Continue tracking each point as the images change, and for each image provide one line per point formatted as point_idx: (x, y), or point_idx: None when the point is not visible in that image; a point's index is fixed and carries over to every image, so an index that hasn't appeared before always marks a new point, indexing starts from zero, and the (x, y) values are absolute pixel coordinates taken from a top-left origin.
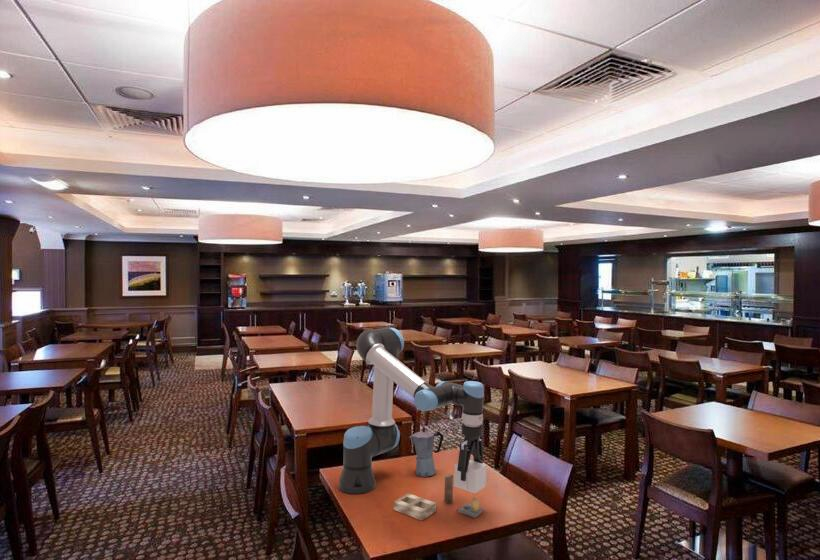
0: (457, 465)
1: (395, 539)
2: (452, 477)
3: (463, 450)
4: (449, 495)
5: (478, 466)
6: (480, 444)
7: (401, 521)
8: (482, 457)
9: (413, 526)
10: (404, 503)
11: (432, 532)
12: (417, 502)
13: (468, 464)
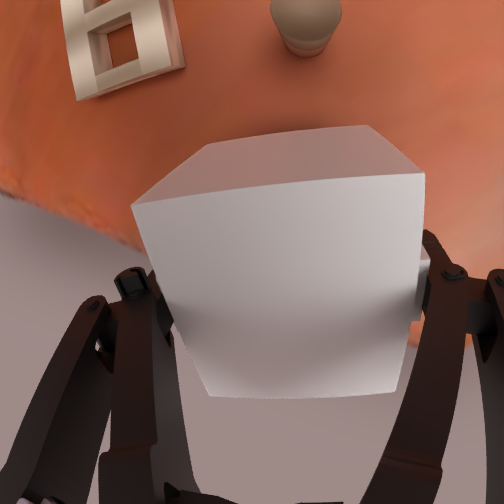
0: (148, 237)
1: (5, 144)
2: (313, 39)
3: (45, 487)
4: (290, 48)
5: (311, 377)
6: (489, 501)
7: (50, 65)
8: (486, 349)
9: (59, 113)
10: (73, 4)
11: (83, 179)
12: (113, 17)
13: (175, 381)
